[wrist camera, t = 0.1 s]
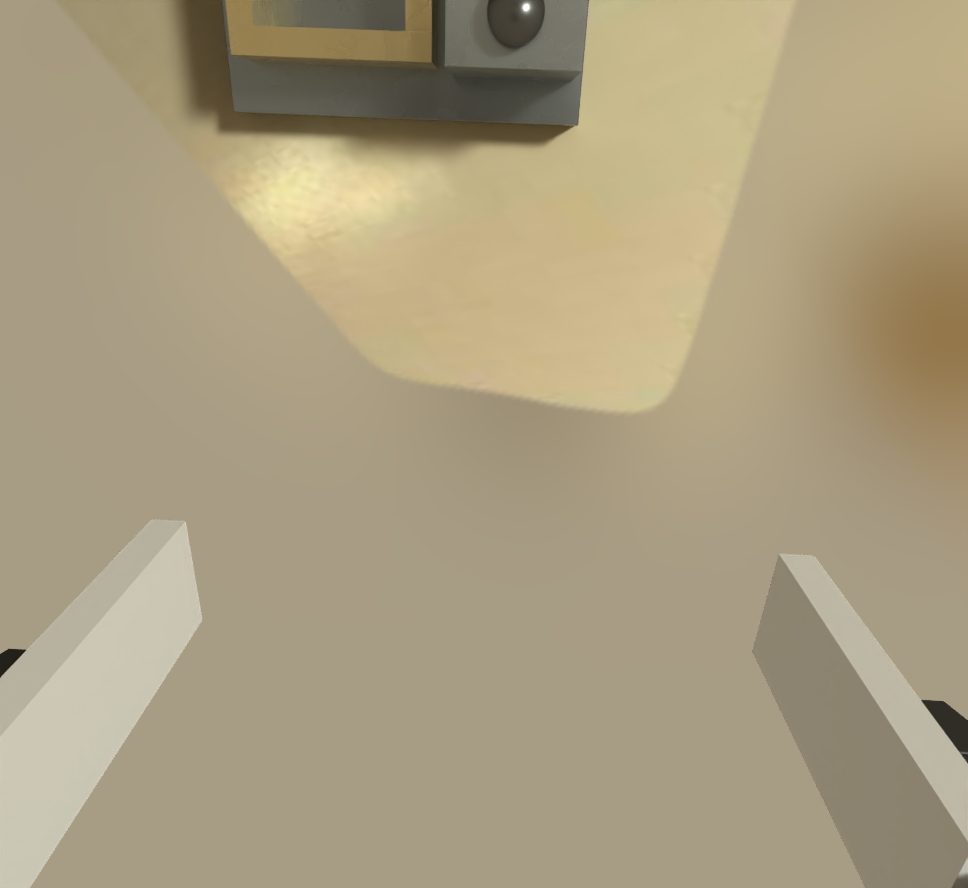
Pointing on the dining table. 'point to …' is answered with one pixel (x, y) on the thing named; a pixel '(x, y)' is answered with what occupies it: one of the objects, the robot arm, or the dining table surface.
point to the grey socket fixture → (409, 59)
